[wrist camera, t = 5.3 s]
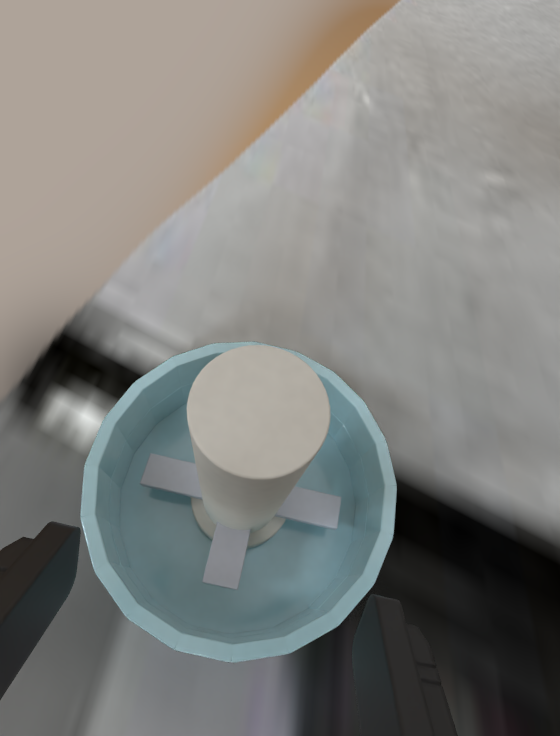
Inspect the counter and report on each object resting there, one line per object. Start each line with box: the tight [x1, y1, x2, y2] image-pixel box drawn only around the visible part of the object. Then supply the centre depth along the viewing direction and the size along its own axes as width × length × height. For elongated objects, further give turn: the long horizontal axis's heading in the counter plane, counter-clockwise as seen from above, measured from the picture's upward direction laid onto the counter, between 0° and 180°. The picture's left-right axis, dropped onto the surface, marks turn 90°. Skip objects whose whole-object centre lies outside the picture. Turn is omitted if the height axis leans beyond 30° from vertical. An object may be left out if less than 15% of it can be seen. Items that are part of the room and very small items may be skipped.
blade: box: [140, 345, 341, 590], centre depth 18 cm, size 10×9×13 cm
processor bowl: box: [80, 342, 397, 663], centre depth 22 cm, size 14×14×6 cm
